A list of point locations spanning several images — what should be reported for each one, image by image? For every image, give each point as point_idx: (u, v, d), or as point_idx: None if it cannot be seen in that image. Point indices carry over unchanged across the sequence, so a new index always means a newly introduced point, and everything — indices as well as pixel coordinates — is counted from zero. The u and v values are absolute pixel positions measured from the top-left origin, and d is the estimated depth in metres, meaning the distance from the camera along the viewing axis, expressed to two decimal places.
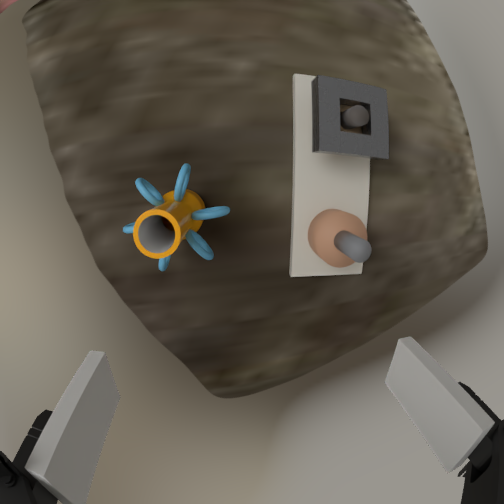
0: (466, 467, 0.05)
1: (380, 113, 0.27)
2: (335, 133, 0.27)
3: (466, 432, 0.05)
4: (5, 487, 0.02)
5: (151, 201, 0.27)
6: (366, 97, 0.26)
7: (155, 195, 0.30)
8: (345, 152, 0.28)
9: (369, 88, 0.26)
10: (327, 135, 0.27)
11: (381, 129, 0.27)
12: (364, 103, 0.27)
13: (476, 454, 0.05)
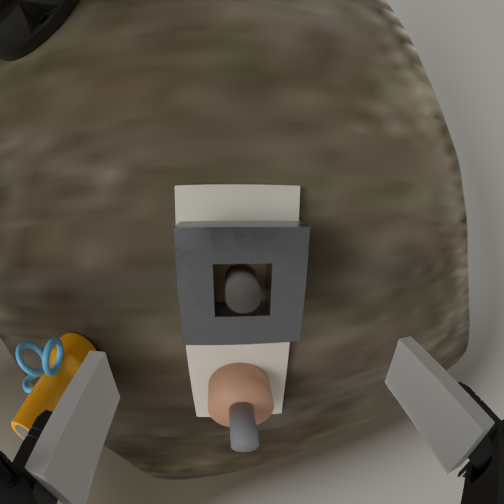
0: (466, 467, 0.05)
1: (290, 276, 0.19)
2: (206, 321, 0.20)
3: (466, 432, 0.05)
4: (5, 487, 0.02)
5: (31, 375, 0.19)
6: (265, 253, 0.19)
7: (40, 355, 0.22)
8: (224, 343, 0.20)
9: (274, 232, 0.18)
10: (194, 325, 0.20)
11: (290, 302, 0.20)
12: (262, 262, 0.19)
13: (476, 454, 0.05)
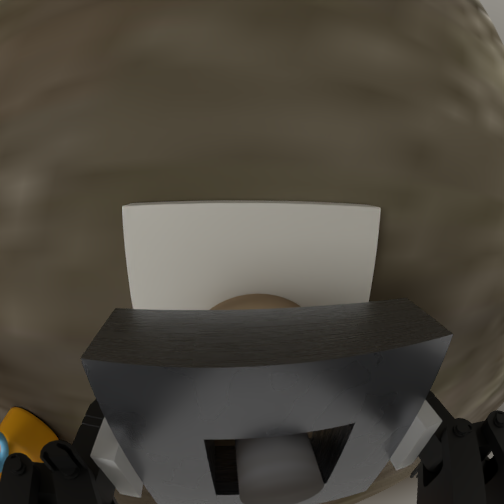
0: (417, 469, 0.06)
1: (384, 431, 0.06)
2: (200, 498, 0.07)
3: (410, 428, 0.07)
4: (65, 479, 0.04)
5: None
6: (345, 409, 0.06)
7: None
8: None
9: (379, 364, 0.05)
10: (176, 499, 0.07)
11: (369, 461, 0.07)
12: (330, 420, 0.06)
13: (426, 456, 0.06)
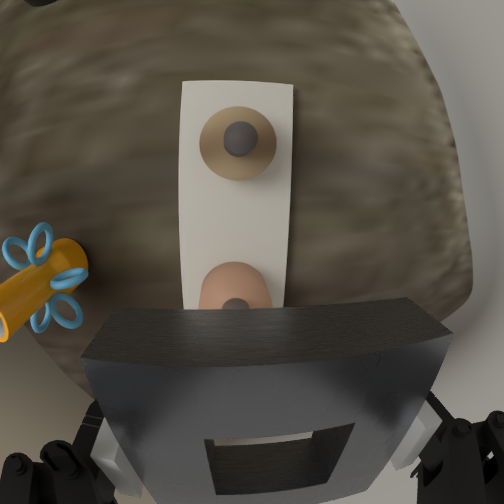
0: (417, 469, 0.06)
1: (385, 431, 0.06)
2: (200, 498, 0.07)
3: (410, 428, 0.07)
4: (66, 479, 0.04)
5: None
6: (346, 408, 0.06)
7: (27, 253, 0.22)
8: None
9: (379, 363, 0.05)
10: (176, 498, 0.07)
11: (370, 461, 0.07)
12: (330, 420, 0.06)
13: (426, 456, 0.06)
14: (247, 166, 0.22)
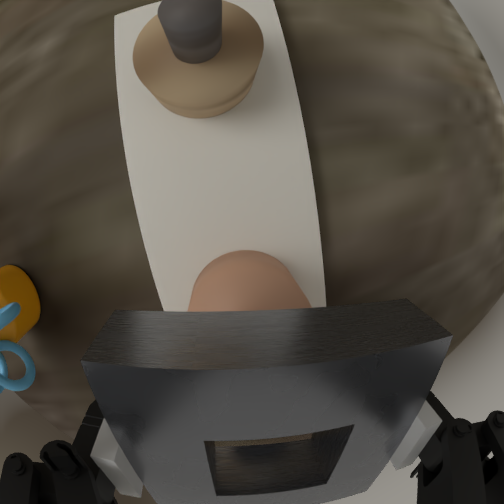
0: (417, 468, 0.06)
1: (384, 432, 0.06)
2: (200, 498, 0.07)
3: (410, 428, 0.07)
4: (65, 479, 0.04)
5: None
6: (345, 410, 0.06)
7: None
8: None
9: (379, 366, 0.05)
10: (176, 499, 0.07)
11: (369, 462, 0.07)
12: (330, 422, 0.06)
13: (426, 456, 0.06)
14: (219, 74, 0.11)
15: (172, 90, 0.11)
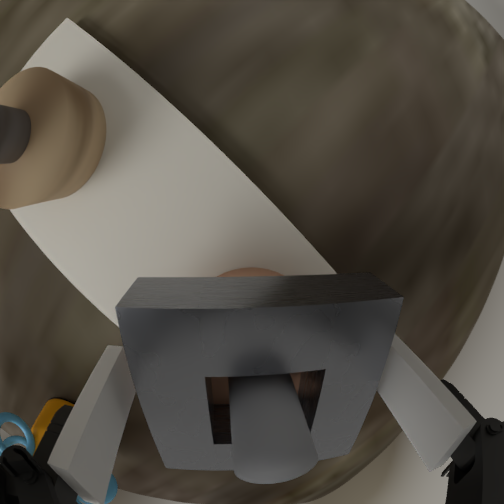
0: (449, 467, 0.06)
1: (354, 383, 0.09)
2: (199, 448, 0.09)
3: (446, 430, 0.06)
4: (25, 484, 0.03)
5: None
6: (315, 353, 0.08)
7: (26, 446, 0.12)
8: (231, 468, 0.10)
9: (338, 314, 0.08)
10: (178, 451, 0.09)
11: (346, 416, 0.09)
12: (305, 366, 0.09)
13: (459, 454, 0.06)
14: (43, 146, 0.08)
15: (21, 195, 0.08)
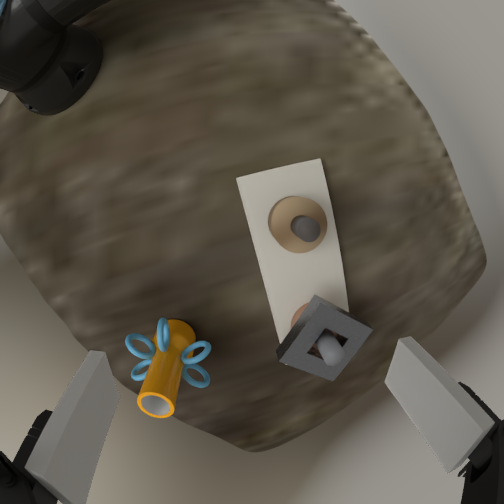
0: (466, 467, 0.05)
1: (351, 348, 0.33)
2: (301, 353, 0.32)
3: (466, 432, 0.05)
4: (5, 487, 0.02)
5: (144, 358, 0.30)
6: (349, 333, 0.32)
7: (146, 343, 0.33)
8: (299, 368, 0.33)
9: (359, 325, 0.32)
10: (293, 353, 0.32)
11: (343, 360, 0.33)
12: (344, 336, 0.32)
13: (476, 454, 0.05)
14: None
15: (293, 248, 0.31)
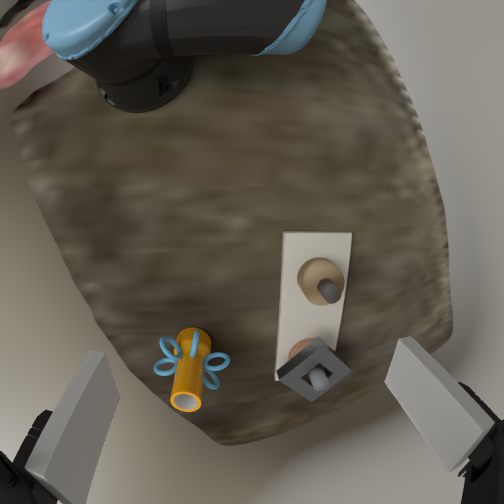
0: (466, 467, 0.05)
1: (332, 380, 0.42)
2: (296, 377, 0.40)
3: (466, 432, 0.05)
4: (5, 487, 0.02)
5: (174, 359, 0.37)
6: (335, 369, 0.41)
7: (174, 345, 0.40)
8: (291, 387, 0.41)
9: (343, 365, 0.41)
10: (291, 376, 0.40)
11: None
12: (330, 371, 0.41)
13: (476, 454, 0.05)
14: None
15: (314, 301, 0.40)
